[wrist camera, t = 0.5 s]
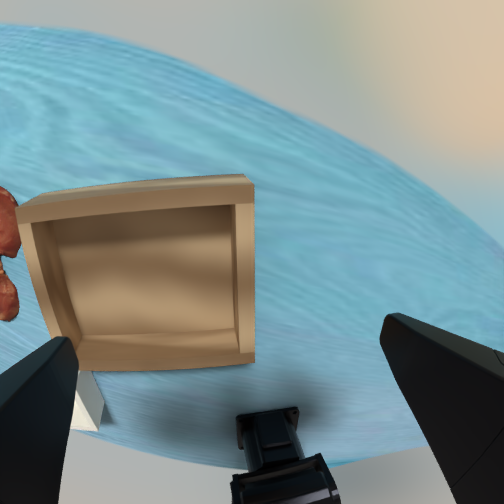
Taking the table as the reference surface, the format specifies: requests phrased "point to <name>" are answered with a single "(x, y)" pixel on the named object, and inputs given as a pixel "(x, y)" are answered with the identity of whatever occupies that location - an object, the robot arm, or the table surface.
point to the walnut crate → (146, 271)
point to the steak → (8, 254)
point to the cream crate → (87, 403)
